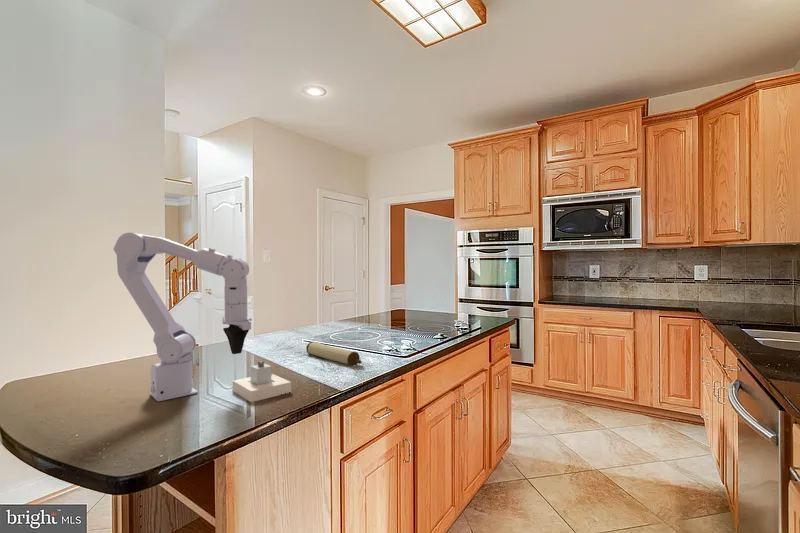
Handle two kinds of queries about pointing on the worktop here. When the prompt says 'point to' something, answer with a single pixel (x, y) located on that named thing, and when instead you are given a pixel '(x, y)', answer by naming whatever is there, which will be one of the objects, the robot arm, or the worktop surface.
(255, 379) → the plug
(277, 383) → the socket box
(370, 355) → the worktop surface
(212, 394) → the worktop surface
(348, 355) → the rolling pin
